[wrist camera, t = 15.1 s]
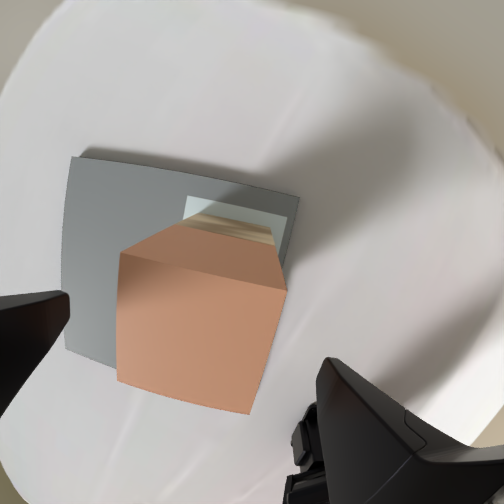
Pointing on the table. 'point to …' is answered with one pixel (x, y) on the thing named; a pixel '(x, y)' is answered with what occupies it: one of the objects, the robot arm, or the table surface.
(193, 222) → the maple block
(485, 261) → the table surface
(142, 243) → the terracotta block
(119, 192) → the board
